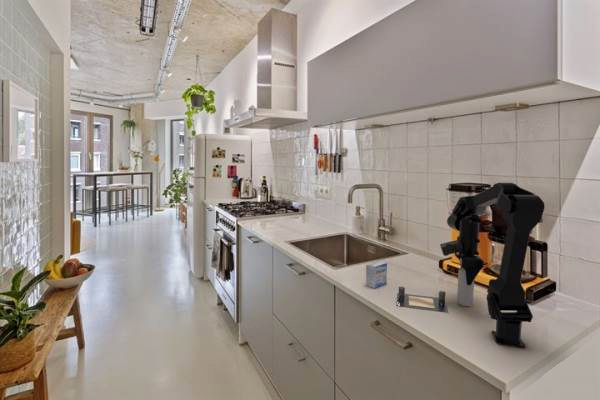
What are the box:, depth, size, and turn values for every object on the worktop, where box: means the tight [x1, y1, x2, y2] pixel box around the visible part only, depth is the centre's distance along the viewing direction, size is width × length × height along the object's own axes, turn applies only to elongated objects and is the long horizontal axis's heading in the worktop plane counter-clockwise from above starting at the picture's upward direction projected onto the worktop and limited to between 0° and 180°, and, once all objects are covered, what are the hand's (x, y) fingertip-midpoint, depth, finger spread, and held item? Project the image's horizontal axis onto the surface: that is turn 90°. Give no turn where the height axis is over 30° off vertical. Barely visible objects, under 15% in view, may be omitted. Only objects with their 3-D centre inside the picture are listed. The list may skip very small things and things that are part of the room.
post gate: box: [396, 286, 450, 314], centre depth 113 cm, size 12×16×5 cm
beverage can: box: [456, 267, 475, 308], centre depth 111 cm, size 5×5×12 cm
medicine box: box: [365, 260, 388, 289], centre depth 129 cm, size 8×4×9 cm, turn 131°
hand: (466, 280), depth 111 cm, fingers open, 9 cm apart
